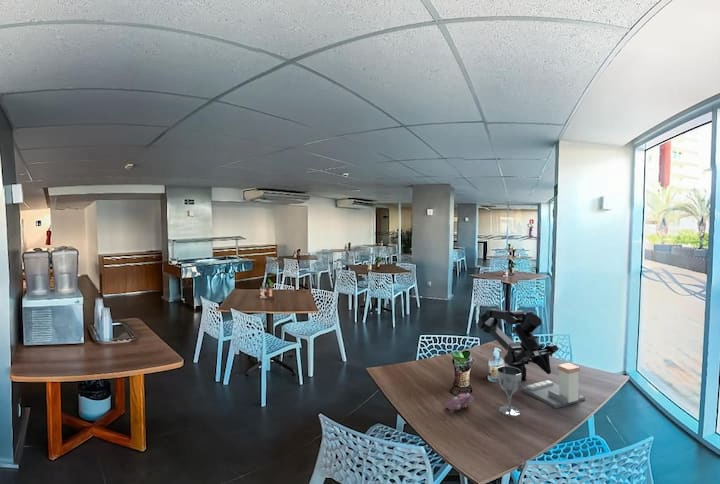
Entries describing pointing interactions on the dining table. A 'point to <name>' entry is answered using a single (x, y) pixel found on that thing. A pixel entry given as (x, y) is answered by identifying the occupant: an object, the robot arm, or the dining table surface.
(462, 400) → the pink toy figurine
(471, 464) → the dining table surface
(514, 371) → the wine glass
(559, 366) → the key
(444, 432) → the dining table surface
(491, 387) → the dining table surface
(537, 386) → the keyboard deck
